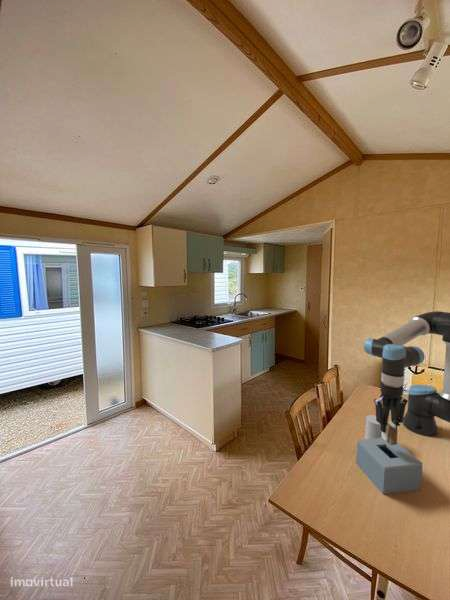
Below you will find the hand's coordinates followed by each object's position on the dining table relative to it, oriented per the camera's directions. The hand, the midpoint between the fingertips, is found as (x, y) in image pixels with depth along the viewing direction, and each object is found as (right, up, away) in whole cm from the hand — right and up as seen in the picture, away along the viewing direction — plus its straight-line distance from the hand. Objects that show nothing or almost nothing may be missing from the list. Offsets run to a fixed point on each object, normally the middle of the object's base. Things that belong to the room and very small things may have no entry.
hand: (388, 438), depth 105 cm
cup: (+8, -14, +23) cm, 28 cm away
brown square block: (0, 0, 0) cm, 1 cm away
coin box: (0, -16, +2) cm, 16 cm away
